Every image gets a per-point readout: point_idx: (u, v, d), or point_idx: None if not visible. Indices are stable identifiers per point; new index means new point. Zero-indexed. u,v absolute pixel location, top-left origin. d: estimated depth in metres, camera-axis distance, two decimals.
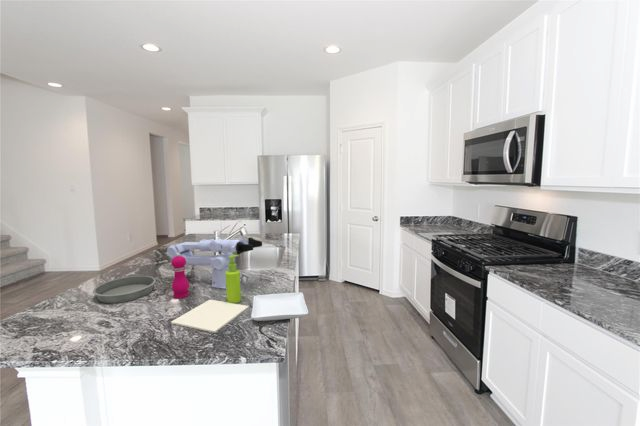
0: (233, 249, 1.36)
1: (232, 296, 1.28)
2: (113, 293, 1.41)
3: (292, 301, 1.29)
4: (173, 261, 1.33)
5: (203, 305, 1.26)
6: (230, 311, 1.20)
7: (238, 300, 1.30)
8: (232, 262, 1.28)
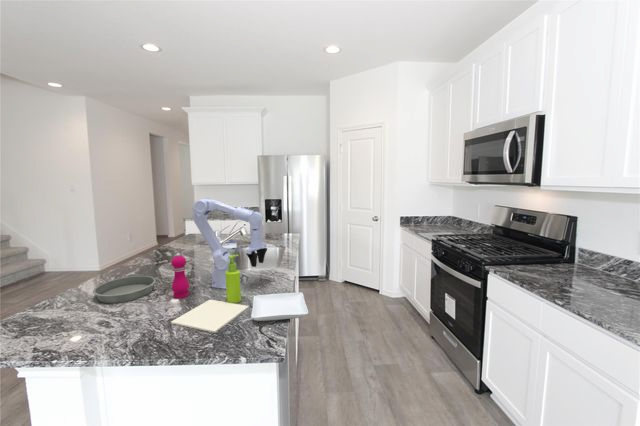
0: (248, 252, 1.40)
1: (232, 296, 1.28)
2: (113, 293, 1.41)
3: (292, 301, 1.29)
4: (173, 261, 1.33)
5: (203, 305, 1.26)
6: (230, 311, 1.20)
7: (238, 300, 1.30)
8: (232, 262, 1.28)
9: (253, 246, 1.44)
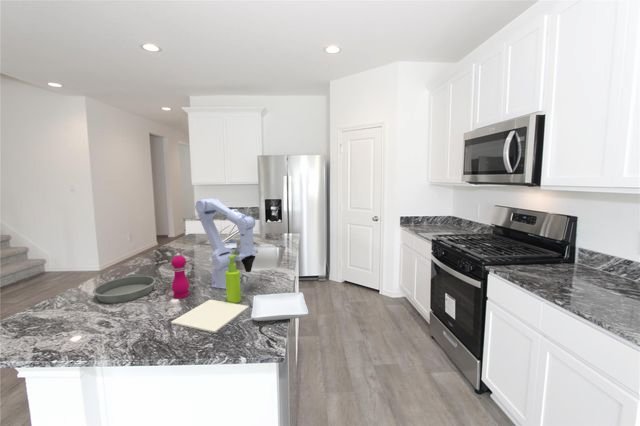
0: (238, 259, 1.33)
1: (232, 296, 1.28)
2: (113, 293, 1.41)
3: (292, 301, 1.29)
4: (173, 261, 1.33)
5: (203, 305, 1.26)
6: (230, 311, 1.20)
7: (238, 300, 1.30)
8: (232, 262, 1.28)
9: (243, 252, 1.37)
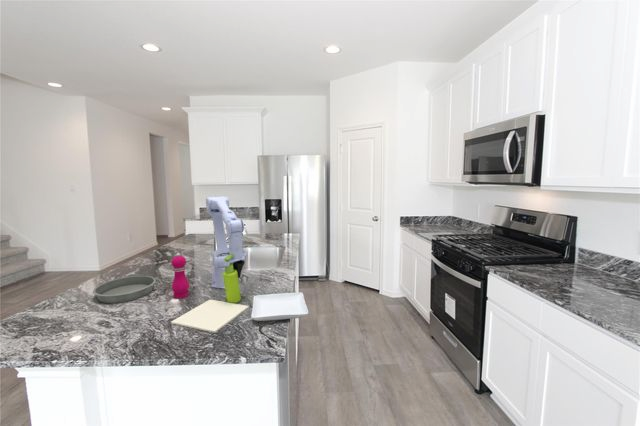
0: (225, 265, 1.25)
1: (231, 297, 1.28)
2: (113, 293, 1.41)
3: (292, 301, 1.29)
4: (173, 261, 1.33)
5: (203, 305, 1.26)
6: (230, 311, 1.20)
7: (238, 299, 1.30)
8: None
9: (232, 257, 1.29)
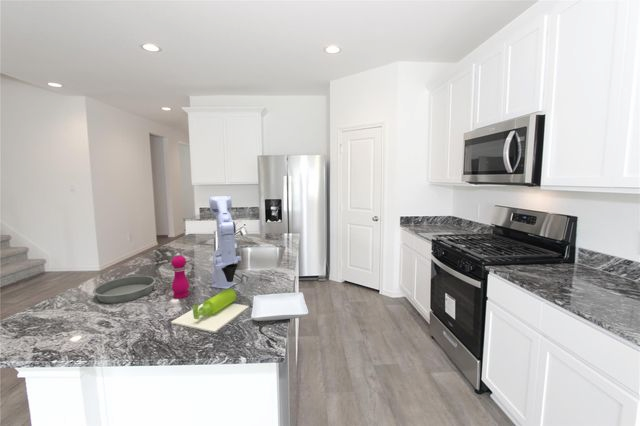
0: (217, 268, 1.21)
1: None
2: (113, 293, 1.41)
3: (292, 301, 1.29)
4: (173, 261, 1.33)
5: None
6: (230, 311, 1.20)
7: (234, 298, 1.27)
8: (201, 314, 1.13)
9: (224, 261, 1.24)
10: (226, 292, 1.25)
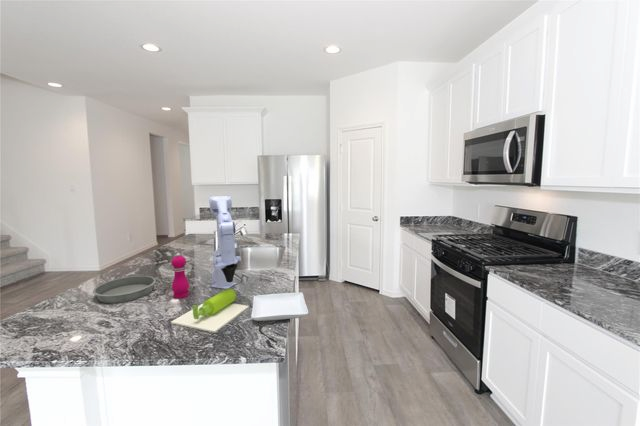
0: (217, 268, 1.20)
1: None
2: (113, 293, 1.41)
3: (292, 301, 1.29)
4: (173, 261, 1.33)
5: None
6: (230, 311, 1.20)
7: (234, 298, 1.27)
8: (201, 314, 1.13)
9: (224, 261, 1.24)
10: (226, 292, 1.25)
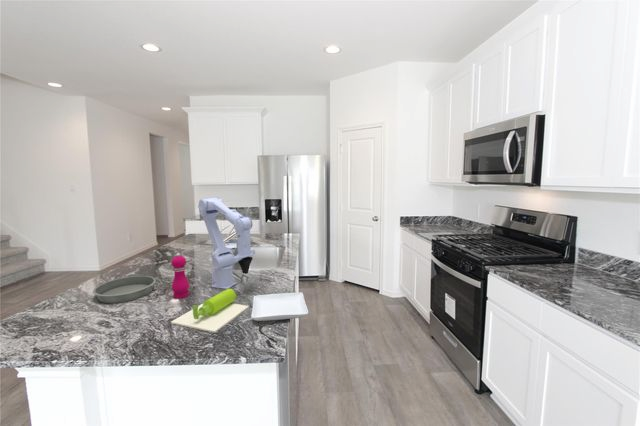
0: (234, 260, 1.31)
1: None
2: (113, 293, 1.41)
3: (292, 301, 1.29)
4: (173, 261, 1.33)
5: None
6: (230, 311, 1.20)
7: (234, 298, 1.27)
8: (201, 314, 1.13)
9: (240, 254, 1.35)
10: (226, 292, 1.25)
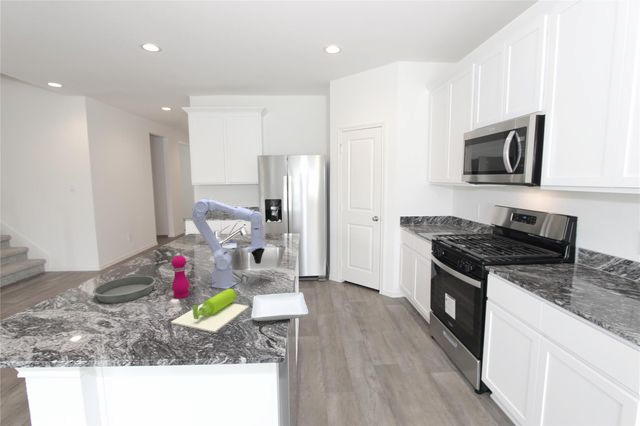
0: (248, 251, 1.43)
1: None
2: (113, 293, 1.41)
3: (292, 301, 1.29)
4: (173, 261, 1.33)
5: None
6: (230, 311, 1.20)
7: (234, 298, 1.27)
8: (201, 314, 1.13)
9: (254, 245, 1.46)
10: (226, 292, 1.25)
